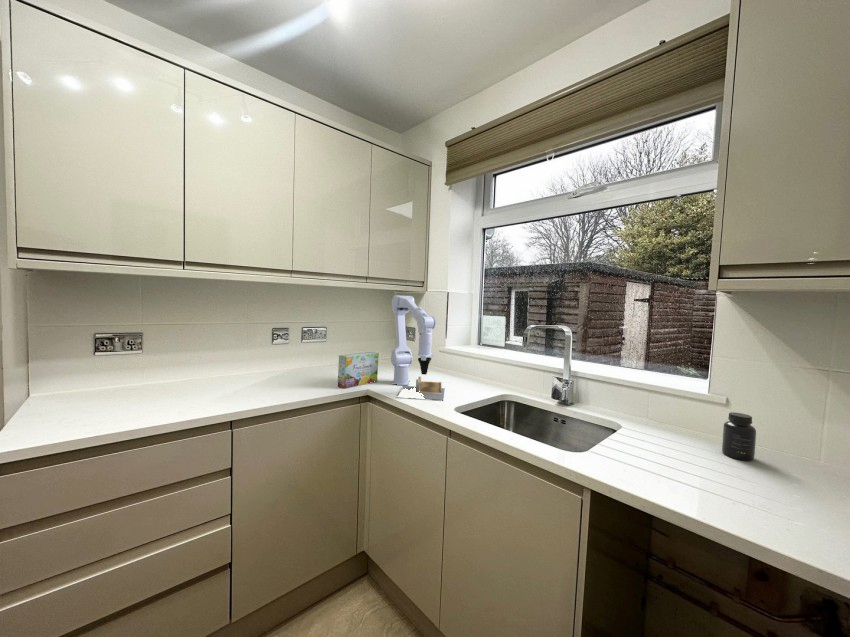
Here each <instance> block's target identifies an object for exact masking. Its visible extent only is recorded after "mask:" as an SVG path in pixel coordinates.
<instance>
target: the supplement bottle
mask: <svg viewBox="0 0 850 637" xmlns="http://www.w3.org/2000/svg"><path fill="white" fill-rule="evenodd" d="M727 418H728V420H727V421H725V422H724V423H723V426H722V427H723V430H722V431H723V432H722V445H721V452H722V454H723V455H725V456H726V457H728V458H731V459H734V460H737V461H743V462H752V461H754V460H755V457H756V456H755V455H756V454H755V453H756V441H757V440H756V439H757V429H756V428H755V427H754V426H753V425H752V424H753V416H751V415H749V414H746V413H741V412H734V411H731V412H729V413H728V417H727Z"/></svg>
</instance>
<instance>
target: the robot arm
mask: <svg viewBox="0 0 850 637" xmlns="http://www.w3.org/2000/svg"><path fill="white" fill-rule="evenodd" d="M391 310H392V313H393V314H394V323H395V324H394V326H395V342H396V346H395V347H394V348H393V349H391V355H390V362H391V364H392V366H393V367H394V368H393V382H392V383H391V385H392V384H397V385H396V386H409V384H410V383H411V380H409V371H410V370H409V369H410V367H411V365H412V364H413V361H414V359H413V358H414V356H413V354H412V349H411V348H410V347H409V346H408V345H407V332H406V314H409V312H411V317H412V318H413V319H414V320H415V322H416V325H417V333H418V353H417V356H418V358H417V361H418V363H419V366H420V373H421V375H425V376H426V375H427V374H428V369H429V365H430V363H431V360H432V357H434V356H435V353H432V347H433V330H434V328H436V318H435V317H434V316H433V315H429V314H427V312H426V311H425V310H424V308H423V307H420V306H419V307H418V305H417V304H416V302H415V297H414V296H413V295H398V294H395V295H393V297H392V299H391ZM409 382H410V383H409Z"/></svg>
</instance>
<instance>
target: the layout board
mask: <svg viewBox="0 0 850 637" xmlns="http://www.w3.org/2000/svg"><path fill="white" fill-rule="evenodd" d="M420 381H422V377H421V376H418V379H417V378H416V379H415V386H410V385H402V387H403V389H405V388H406V389H408V390H410V389H411V388H412V389H413V388H414V387H415V388H416V392H419V391H420ZM419 393H422V394H423V395H424V396H423V397H424V398H425V399H432V400H431V401H438V400H442V402H443V401H444V397H445V387H443V388H442V387H441V393H436V392H419ZM421 396H422V395H421Z"/></svg>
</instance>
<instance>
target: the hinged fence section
mask: <svg viewBox="0 0 850 637" xmlns="http://www.w3.org/2000/svg"><path fill="white" fill-rule="evenodd" d="M441 388H442V382H441V381H424V380H423V381H422V380H421V381H420V392H436V393H441Z"/></svg>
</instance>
